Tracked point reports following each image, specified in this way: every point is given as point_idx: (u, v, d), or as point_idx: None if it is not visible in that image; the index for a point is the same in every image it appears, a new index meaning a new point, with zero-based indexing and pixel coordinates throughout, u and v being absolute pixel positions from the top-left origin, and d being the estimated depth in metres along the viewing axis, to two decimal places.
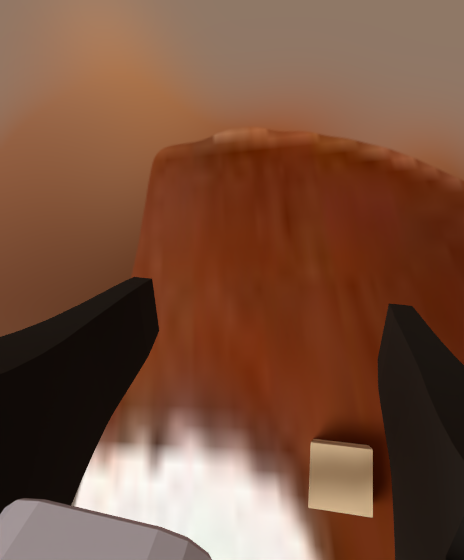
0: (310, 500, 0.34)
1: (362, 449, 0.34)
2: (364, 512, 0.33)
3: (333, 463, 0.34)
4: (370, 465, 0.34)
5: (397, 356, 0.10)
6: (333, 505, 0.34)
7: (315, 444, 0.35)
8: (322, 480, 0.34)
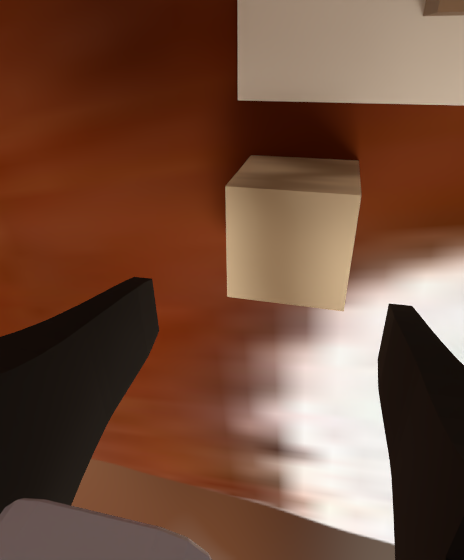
0: (330, 306, 0.17)
1: (227, 206, 0.16)
2: (351, 211, 0.15)
3: (260, 261, 0.17)
4: (257, 191, 0.16)
5: (397, 356, 0.10)
6: (338, 268, 0.16)
7: (230, 289, 0.18)
8: (293, 282, 0.17)
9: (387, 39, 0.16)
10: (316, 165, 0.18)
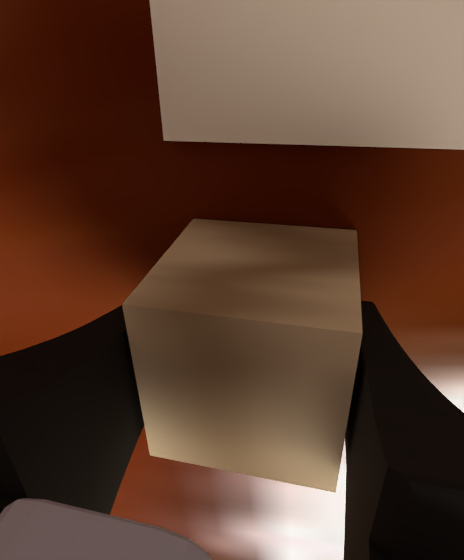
0: (313, 484, 0.10)
1: (130, 334, 0.09)
2: (344, 356, 0.08)
3: (195, 415, 0.10)
4: (177, 316, 0.09)
5: None
6: (325, 435, 0.10)
7: (152, 446, 0.11)
8: (250, 447, 0.10)
9: (404, 41, 0.09)
10: (289, 244, 0.11)
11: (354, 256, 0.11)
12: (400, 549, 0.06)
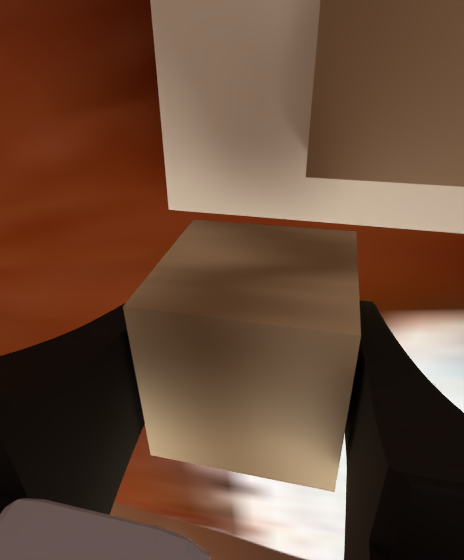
0: (313, 484, 0.11)
1: (131, 336, 0.09)
2: (342, 358, 0.08)
3: (195, 415, 0.10)
4: (177, 318, 0.09)
5: None
6: (324, 436, 0.10)
7: (153, 446, 0.11)
8: (250, 447, 0.10)
9: (285, 173, 0.19)
10: (288, 245, 0.11)
11: (353, 258, 0.11)
12: (400, 549, 0.06)
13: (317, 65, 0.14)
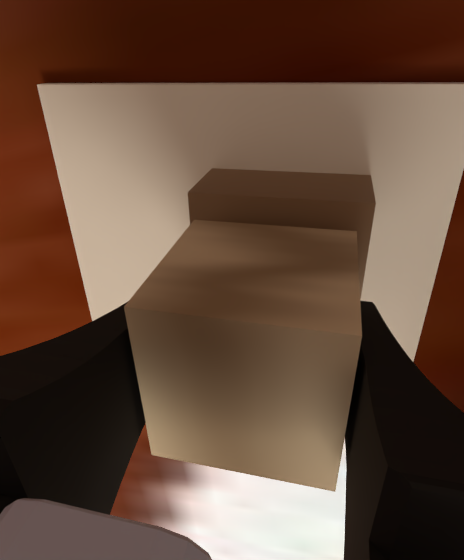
0: (314, 483, 0.11)
1: (132, 336, 0.09)
2: (343, 358, 0.08)
3: (197, 415, 0.10)
4: (178, 318, 0.09)
5: None
6: (324, 436, 0.10)
7: (154, 446, 0.11)
8: (251, 447, 0.10)
9: None
10: (289, 245, 0.11)
11: (354, 258, 0.11)
12: (400, 549, 0.06)
13: None
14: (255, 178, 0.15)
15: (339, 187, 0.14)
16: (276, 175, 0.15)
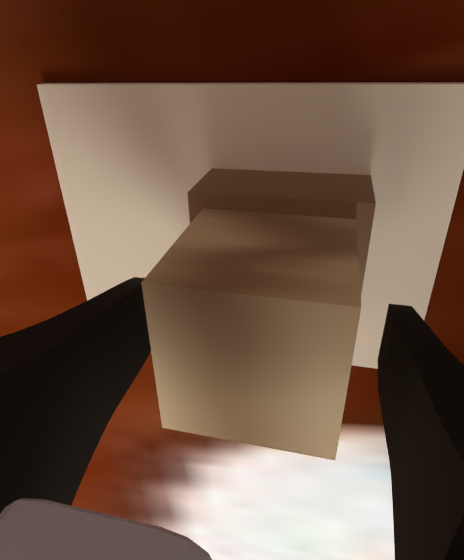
0: (315, 452, 0.11)
1: (148, 310, 0.10)
2: (344, 329, 0.09)
3: (206, 387, 0.11)
4: (192, 292, 0.10)
5: (397, 356, 0.10)
6: (326, 405, 0.10)
7: (165, 418, 0.12)
8: (257, 418, 0.11)
9: None
10: (293, 231, 0.12)
11: (354, 242, 0.12)
12: None
13: None
14: (255, 178, 0.15)
15: (339, 187, 0.14)
16: (276, 175, 0.15)
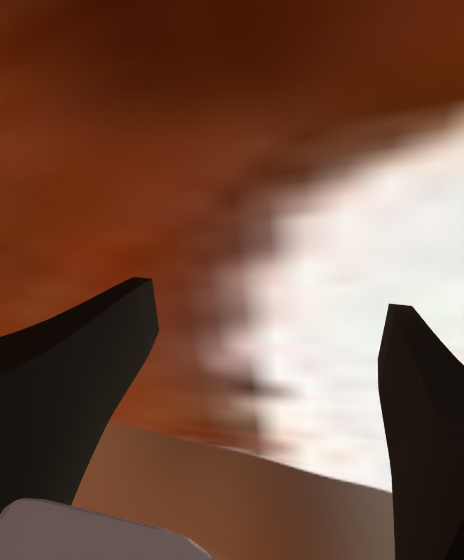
0: None
1: None
2: None
3: None
4: None
5: (397, 356, 0.10)
6: None
7: None
8: None
9: None
10: None
11: None
12: None
13: None
14: None
15: None
16: None
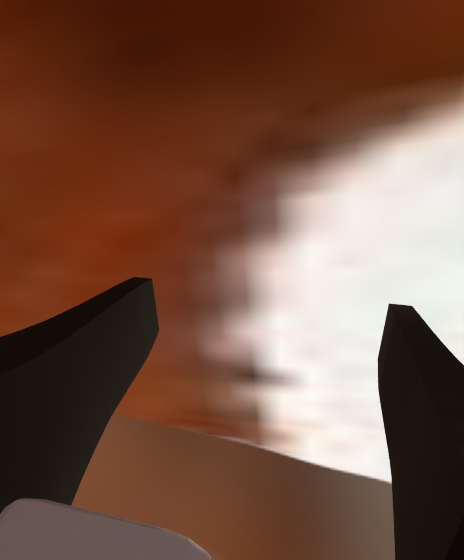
0: None
1: None
2: None
3: None
4: None
5: (397, 356, 0.10)
6: None
7: None
8: None
9: None
10: None
11: None
12: None
13: None
14: None
15: None
16: None
